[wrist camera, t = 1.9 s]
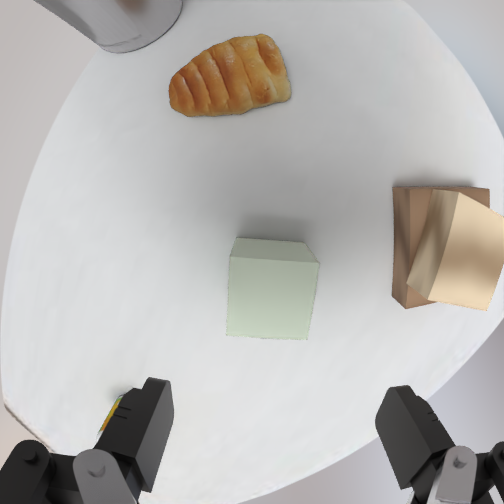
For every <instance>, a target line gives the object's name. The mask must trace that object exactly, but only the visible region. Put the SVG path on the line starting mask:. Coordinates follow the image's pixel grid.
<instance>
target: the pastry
mask: <svg viewBox="0 0 504 504" xmlns="http://www.w3.org/2000/svg"><path fill="white" fill-rule="evenodd" d="M290 96H291V86H290V81H289V79H288V76H287V73H286V67H285V65H284V62H283V58H282V56H281V53H280V50H279V48H278V47H277V46H276V45H275V42H274V41H273V39H272V38H270V37H269V36H267V35H264V34H259V35H257V36H244V37H235V38H232V39H229V40H227V41H225V42H223V43H219V44H217V45H213V46H212V47H211V48H209V49H207V50H204V51H203V52H201V53H200V55H198V56H196V57H194V58H193V59H192V60H191V62H189V63H188V64H187V65H186V66H184V67H183V68H181V69H180V70H179V71H178V72H177V73H176V74H175V75H174V76H173V77H172V79H171V82H170V85H169V98H170V105H171V107H172V108H173V109H174V110H175V111H178V112H180V113H182V114H184V115H186V116H188V117H193V116H203V115H206V116H212V117H213V116H218V115H232V114H243V113H245V112H247V111H248V110H250V109H252V108H259V107H264V106H268V105H270V104H273V103H275V102H285V101H287V100H288V99H289V98H290Z"/></svg>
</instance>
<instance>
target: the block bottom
mask: <svg viewBox="0 0 504 504" xmlns="http://www.w3.org/2000/svg"><path fill="white" fill-rule="evenodd" d="M433 189H437V190H446V191H455V192H460V193H462V194H464V195H466V196H468V197H469V198H471V199H473V200H475V201H477V202H479V203H481V204H482V205H484V206H486V207H488V208H489V209H490V194H489V189H485V188H476V187H393V207H394V263H393V284H392V297H393V298H394V299H395V300H397V301H398V302H399V303H400V304H401V305H402V306H403V307H404V308H405V309H408V308H413V307H418V306H422V305H427V304H431V303H435V302H436V301H431V300H427V299H426V298H425V297H423V296H422V295H421V294H420V293H418V292H417V291H416V290H414V289H413V288H412V287H410V286H409V285H408V284H406V283H407V280H408V277H409V274H410V271H411V268H412V265H413V262H414V259H415V256H416V253H417V249H418V246H419V243H420V239H421V236H422V232H423V228H424V225H425V221H426V217H427V213H428V208H429V204H430V200H431V195H432V191H433Z"/></svg>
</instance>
